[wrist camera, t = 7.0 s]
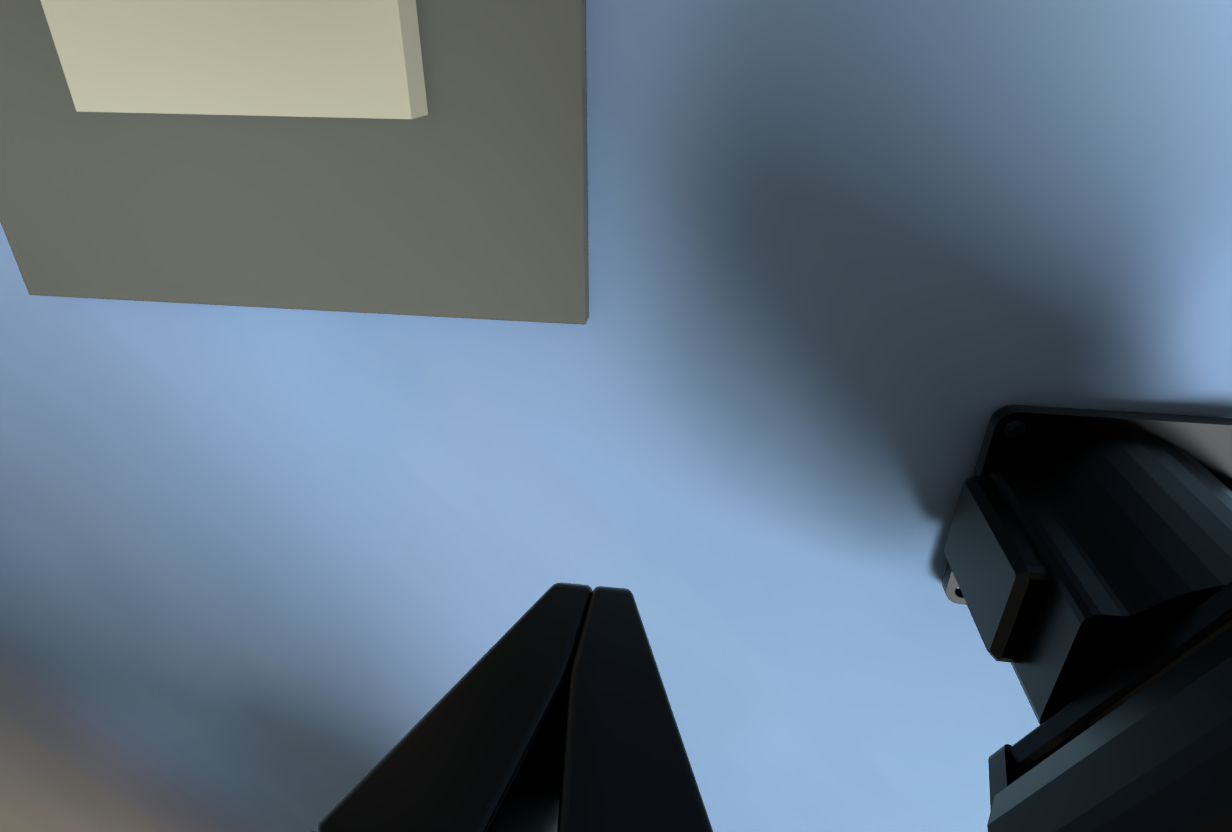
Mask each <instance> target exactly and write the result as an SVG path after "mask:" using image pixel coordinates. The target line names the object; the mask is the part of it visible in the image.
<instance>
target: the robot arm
mask: <svg viewBox="0 0 1232 832" xmlns="http://www.w3.org/2000/svg"><path fill="white" fill-rule="evenodd" d="M1017 420H1018V421H1020V423H1019V425H1018V426H1017V427H1016V428H1014V429H1013V430H1005V427H1006V426H1007V424H1009V423H1010V422H1012V421H1017ZM944 554H945V556H946V558H947V560H948V564H947V567H946V570H945V574H944V577H943V581H942V586H943V588H944V591H945V593H946V595H947V597H948V599H949V600H951V601H952V602H954V603H958V604H966V605H967V606H968V608H969V610H970V613H971V615H972V617H973V619H974V622H975V624H976V626H977V629H978V631H979V633H980V635H981V638H982V640H983V642H984V644H985V647H986V649H987V651H988V652H989V653H990V654H991V656H992V657H993V658H994V659H995V660H996V661H1003V662H1011V664H1012V666H1013V668H1014V670H1015V673H1016V675H1017V677H1018V679H1019V681H1020V683H1021V685H1022V688H1023V690H1024V692H1025V694H1026V696H1027V698H1028V700H1029V702H1030V705H1031V707H1032V709H1033V711H1034V713H1035V715H1036V717H1037V719H1038V722H1039V724H1040V725H1039V726H1038V727H1037V728H1035V729H1034V730H1033V731H1032V732H1030V733H1029V734H1028V735H1026V736H1025V737H1024V738H1022V739H1021V740H1020V741H1018V742H1017V743H1016V744H1014V745H1013V746H1011V745H1008V744H1006V745H1004V746H1003V747H1002V748H1000V749H999V750H998V751H996V752H995V753H994V754H993V755H991V756H990V757H989V781H990V804H991V813H990V817H989V821H988V825H987V826H988V832H1232V418H1218V417H1201V416H1185V415H1169V414H1152V413H1136V412H1120V411H1104V410H1087V409H1071V408H1055V407H1039V406H1022V405H1010V406H1005V407H1003V408H1000V409H999V410H997V411H996V412H995V413H994V414H993V415H992V417H991V419H990V421H989V425H988V428H987V431H986V435H985V438H984V442H983V445H982V448H981V452H980V455H979V458H978V462H977V465H976V469H975V472H974V475H972V476H970V477H969V478H968V479H967V480H966V481H965V482H964V483H963V485H962V489H961V492H960V496H959V499H958V503H957V506H956V510H955V513H954V517H953V520H952V524H951V527H950V530H949V534H948V537H947V541H946V544H945V548H944ZM958 586H959V588H960V589H957V587H958ZM313 832H315V831H313ZM318 832H713V830H712V827H711V824H710V821H709V818H708V815H707V812H706V809H705V806H704V803H703V800H702V797H701V795H700V792H699V789H698V786H697V783H696V780H695V777H694V774H693V771H692V768H691V765H690V762H689V759H688V756H687V753H686V750H685V747H684V744H683V741H682V738H681V735H680V733H679V730H678V727H677V724H676V721H675V718H674V715H673V712H672V709H671V706H670V703H669V700H668V697H667V694H666V691H665V688H664V685H663V682H662V679H661V676H660V673H659V670H658V668H657V665H656V662H655V659H654V656H653V653H652V650H651V647H650V644H649V641H648V638H647V635H646V632H645V629H644V626H643V623H642V620H641V617H640V614H639V611H638V608H637V605H636V603H635V600H634V597H633V594H632V593H631V591H630V590H628V589H624V588H613V587H602V586H599V587H596V588H595V589H594V590H593V591H592V589H591V587H589V586H588V585H580V584H570V583H557V584H554V585H553V586H552V587H551V588H550V589H549V590H548V591H547V592H546V593H545V594H544V595H543V596H542V597H541V598H540V599H539V600H538V601H537V602H536V603H535V604H534V605H533V606H532V607H531V608H530V609H529V610H528V611H527V612H526V613H525V614H524V615H523V616H522V617H521V618H520V619H519V620H518V621H517V622H516V623H515V624H514V625H513V626H512V627H511V628H510V629H509V630H508V631H507V633H506V634H505V635H504V636H503V637H502V638H501V639H500V640H499V641H498V642H497V643H496V644H495V645H494V646H493V647H492V648H491V649H490V650H489V651H488V652H487V653H486V654H485V655H484V656H483V657H482V658H481V659H480V660H479V661H478V662H477V663H476V664H475V665H474V666H473V667H472V668H471V669H470V670H469V671H468V672H467V673H466V674H465V675H464V676H463V677H462V678H461V679H460V681H459V682H458V683H457V684H456V685H455V686H454V687H453V688H452V689H451V690H450V691H449V692H448V693H447V694H446V695H445V696H444V697H443V698H442V699H441V700H440V701H439V702H438V703H437V704H436V705H435V706H434V707H433V708H432V709H431V710H430V711H429V712H428V713H427V714H426V715H425V716H424V717H423V718H422V719H421V720H420V721H419V722H418V723H417V724H416V725H415V726H414V727H413V729H412V730H411V731H410V732H409V733H408V734H407V735H406V736H405V737H404V738H403V739H402V740H401V741H400V742H399V743H398V744H397V745H396V746H395V747H394V748H393V749H392V750H391V751H390V752H389V753H388V754H387V755H386V756H385V757H384V758H383V759H382V760H381V761H380V762H379V763H378V764H377V765H376V766H375V767H374V768H373V769H372V770H371V771H370V772H369V773H368V774H367V775H366V777H365V778H364V779H363V780H362V781H361V782H360V783H359V784H358V785H357V786H356V787H355V788H354V789H353V790H352V791H351V792H350V793H349V794H348V795H347V796H346V797H345V798H344V799H343V800H342V801H341V802H340V803H339V804H338V805H337V806H336V807H335V808H334V809H333V810H332V811H331V812H330V813H329V814H328V815H327V816H326V817H325V818H324V819H323V820H322V821H321V822H320V824H319V826H318Z"/></svg>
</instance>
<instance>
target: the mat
mask: <svg viewBox="0 0 1232 832" xmlns="http://www.w3.org/2000/svg"><path fill="white" fill-rule="evenodd" d="M416 8H417V17H418V26H419V35H420V45H421V54H422V63H423V72H424V81H425V91H426V100H427V109H428V115H426V116H422V117H418V118H415V119H377V118H334V117H291V116H247V115H204V114H161V113H118V112H77V111H76V108H75V105H74V102H73V99H72V96H71V93H70V90H69V87H68V84H67V81H66V78H65V74H64V71H63V68H62V65H61V62H60V59H59V56H58V53H57V50H56V47H55V44H54V41H53V38H52V34H51V31H50V28H49V25H48V22H47V19H46V16H45V13H44V10H43V7H42V4H41V1H40V0H0V222H1V225H2V227H3V230H4V232H5V235H6V237H7V240H8V242H9V245H10V247H11V250H12V252H13V255H14V257H15V260H16V262H17V265H18V267H19V270H20V272H21V275H22V277H23V280H24V282H25V285H26V287H27V290H28V292H29V295H41V296H60V297H79V298H97V299H116V300H135V301H154V302H172V303H191V304H210V305H229V306H247V307H266V308H285V309H303V310H322V311H341V312H360V313H378V314H397V315H416V316H435V317H453V318H472V319H491V320H510V321H528V322H547V323H566V324H586V322H587V319H588V317H589V288H588V190H587V91H586V0H416Z"/></svg>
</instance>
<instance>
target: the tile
mask: <svg viewBox="0 0 1232 832" xmlns="http://www.w3.org/2000/svg"><path fill="white" fill-rule="evenodd" d="M40 1H41V4H42V7H43V10H44V13H45V16H46V19H47V22H48V25H49V28H50V31H51V34H52V38H53V41H54V44H55V47H56V50H57V53H58V56H59V59H60V62H61V65H62V68H63V71H64V74H65V78H66V81H67V84H68V87H69V90H70V93H71V96H72V99H73V102H74V105H75V108H76V111H77V112H118V113H161V114H204V115H247V116H291V117H334V118H377V119H415V118H418V117H422V116H426V115H428V109H427V100H426V91H425V81H424V72H423V63H422V54H421V45H420V35H419V26H418V17H417V8H416V0H40Z"/></svg>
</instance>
